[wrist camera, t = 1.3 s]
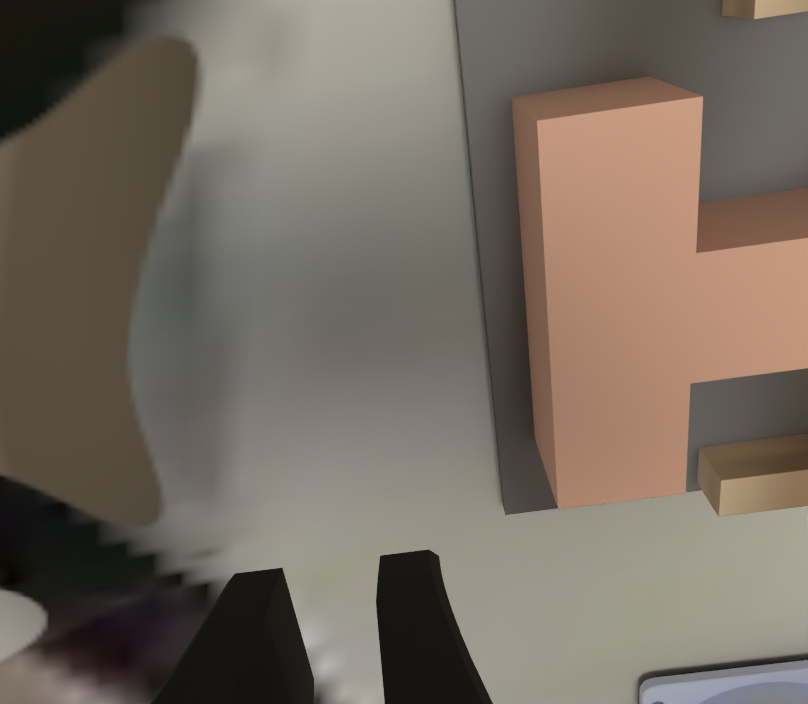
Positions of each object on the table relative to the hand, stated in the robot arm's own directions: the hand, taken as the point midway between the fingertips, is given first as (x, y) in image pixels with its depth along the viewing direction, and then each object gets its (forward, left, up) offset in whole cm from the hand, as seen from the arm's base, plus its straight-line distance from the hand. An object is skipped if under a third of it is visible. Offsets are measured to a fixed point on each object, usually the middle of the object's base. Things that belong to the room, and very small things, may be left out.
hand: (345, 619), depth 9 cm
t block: (0, -8, -10) cm, 13 cm away
